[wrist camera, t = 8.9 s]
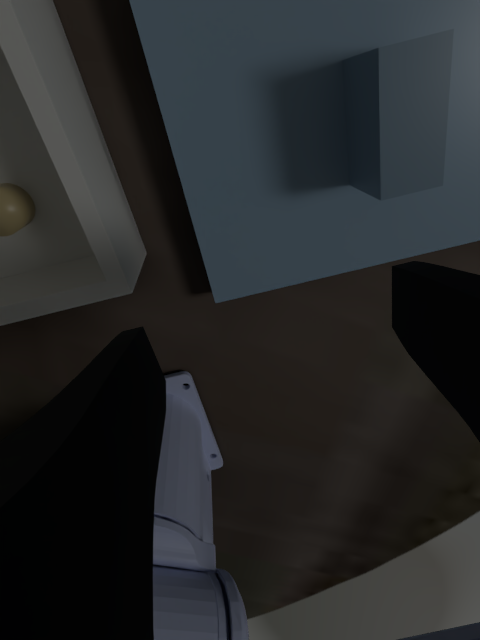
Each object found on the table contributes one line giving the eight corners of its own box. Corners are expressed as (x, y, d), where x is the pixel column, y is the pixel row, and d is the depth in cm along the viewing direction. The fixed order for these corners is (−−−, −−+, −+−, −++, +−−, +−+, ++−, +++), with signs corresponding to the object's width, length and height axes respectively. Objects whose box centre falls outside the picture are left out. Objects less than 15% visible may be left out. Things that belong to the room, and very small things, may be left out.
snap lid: (514, 215, 21) (605, 246, 16) (214, 287, 22) (218, 337, 17) (575, -138, 14) (765, -263, 9) (128, -21, 15) (93, -83, 10)
